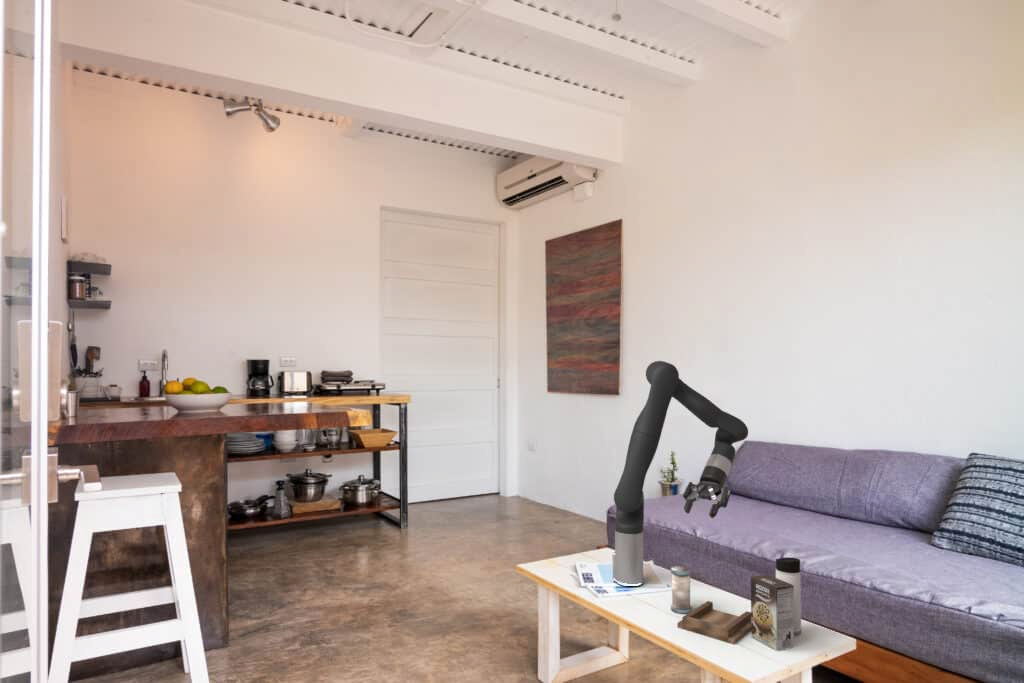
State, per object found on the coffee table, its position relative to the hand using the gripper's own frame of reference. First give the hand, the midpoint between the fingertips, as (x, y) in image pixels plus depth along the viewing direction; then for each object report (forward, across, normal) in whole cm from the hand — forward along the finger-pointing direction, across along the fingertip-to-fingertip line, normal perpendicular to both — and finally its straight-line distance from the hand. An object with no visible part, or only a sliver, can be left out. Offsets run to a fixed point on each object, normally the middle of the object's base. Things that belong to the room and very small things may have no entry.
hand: (698, 514), depth 198 cm
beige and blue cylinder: (+27, 0, +10) cm, 29 cm away
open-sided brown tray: (+29, +14, +8) cm, 33 cm away
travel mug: (+22, +29, +16) cm, 40 cm away
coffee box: (+29, +29, +9) cm, 41 cm away
